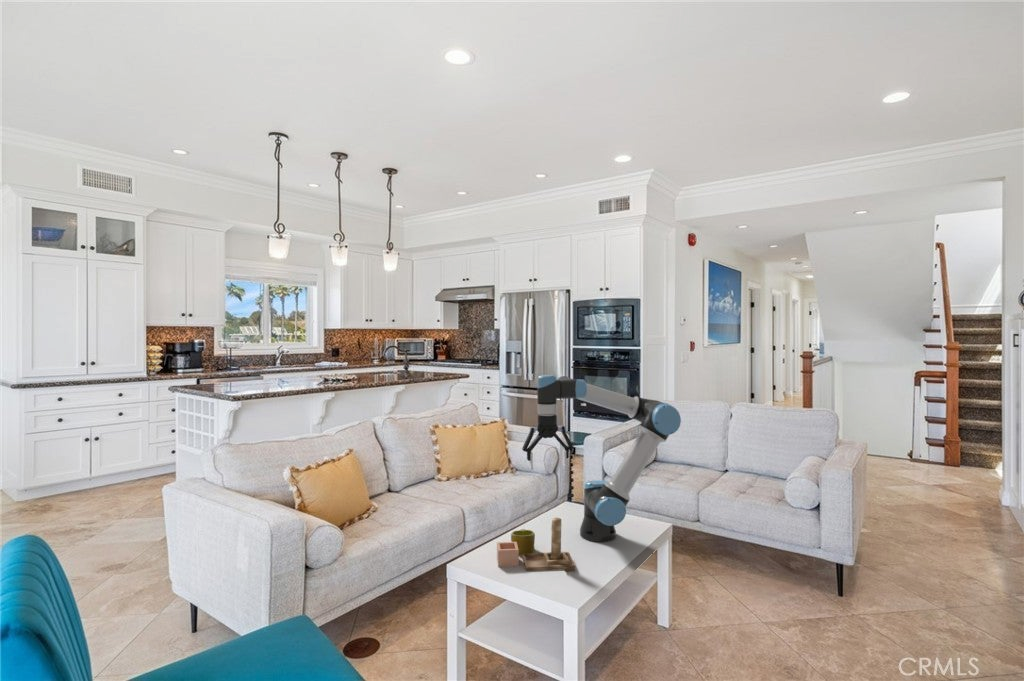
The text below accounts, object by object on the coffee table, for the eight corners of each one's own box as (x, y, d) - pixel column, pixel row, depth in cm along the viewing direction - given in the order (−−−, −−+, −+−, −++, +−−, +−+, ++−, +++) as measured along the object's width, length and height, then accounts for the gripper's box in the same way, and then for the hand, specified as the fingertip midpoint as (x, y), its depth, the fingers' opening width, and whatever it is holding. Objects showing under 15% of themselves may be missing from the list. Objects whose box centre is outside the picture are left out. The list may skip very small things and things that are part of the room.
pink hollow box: (516, 559, 205) (516, 541, 205) (518, 568, 198) (518, 549, 197) (496, 560, 204) (496, 542, 204) (498, 569, 197) (498, 550, 197)
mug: (536, 555, 205) (529, 528, 207) (511, 561, 207) (504, 535, 209) (543, 549, 216) (536, 524, 219) (519, 555, 218) (513, 530, 221)
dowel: (559, 559, 203) (560, 517, 202) (561, 563, 199) (562, 521, 198) (550, 559, 202) (550, 517, 202) (551, 563, 199) (552, 521, 198)
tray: (568, 557, 207) (568, 549, 207) (575, 571, 195) (575, 562, 195) (522, 559, 206) (522, 551, 205) (526, 573, 194) (526, 564, 194)
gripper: (574, 411, 219) (575, 463, 219) (514, 414, 214) (515, 467, 215) (580, 414, 211) (581, 467, 212) (517, 417, 207) (518, 472, 207)
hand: (548, 467), depth 213 cm, fingers open, 13 cm apart
